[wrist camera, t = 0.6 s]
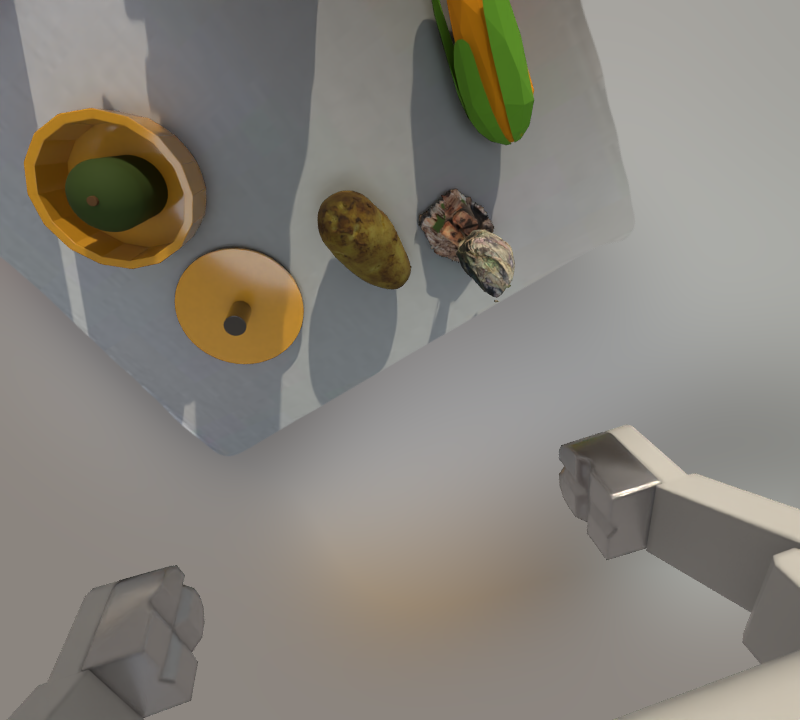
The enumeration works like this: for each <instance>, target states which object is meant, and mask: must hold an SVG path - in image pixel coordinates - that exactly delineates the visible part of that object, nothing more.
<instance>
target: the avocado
mask: <svg viewBox="0 0 800 720" xmlns="http://www.w3.org/2000/svg"><path fill="white" fill-rule="evenodd" d="M65 193H66V197H67V201H68V203H69V205H70V207H71V208H72V210H73V211H74V213H75V214H76V215H77V216H78V217H79V218H80V219H81V220H82V221H84V222H85V223H87V224H88V225H90V226H92V227H94V228H96V229H99V230H102V231H107V232H122V231H126V230H129V229H131V228H133V227H135V226H137V225H139V224H141V223H143V222H145V221H147V220H148V219H150V218H152V217H154V216H156V215H157V214H159V213H160V212H161V211H162V210H163V209H164V207H165V205H166V203H167V199H168V189H167V185H166V182H165V180H164V178H163V176H162V174H161V173H160V172H159V170H158V169H157V168H156V167H155V166H154V165H152V164H151V163H150V162H148V161H147V160H145V159H143V158H140V157H138V156H134V155H119V156H111V157H103V158H94V159H89V160H85V161H83V162H80V163H79V164H77V165H76V166H75V167H74V168H73V169H72V170H71V171H70V172H69V174H68V176H67V179H66V183H65Z"/></svg>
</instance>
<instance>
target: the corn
mask: <svg viewBox="0 0 800 720" xmlns="http://www.w3.org/2000/svg"><path fill="white" fill-rule="evenodd" d="M432 4H433V10H434V15H435V19H436V22H437V26H438V29H439V33H440V36H441V40H442V43H443V47H444V50H445V54H446V57H447V60H448V64H449V67H450V70H451V74H452V77H453V80H454V84H455V87H456V90H457V94H458V97H459V99H460V102H461V104H462V106H463V108H464V110H465V112H466V114H467V117H468V118H469V119H470V121H471V123H472V124H473V125H474V127H475V128H476V129H477V131H478V132H479V133H480V134H482V135H483V136H484V137H486V138H487V139H488V140H490V141H492V142H496V143H500V144H504V145H509V144H511V142H516V141H518V140H520V139H521V138H522V136H523V135H524V133H525V131H526V130H527V128H528V127H529V124H530V119H531V114H532V108H533V103H534V97H533V93H534V88H533V85H532V81H531V78H530V74H529V71H528V68H527V63H526V58H525V54H524V49H523V44H522V39H521V35H520V32H519V29H518V26H517V23H516V20H515V17H514V14H513V11H512V8H511V5H510V2H509V0H447V4H448V10H449V15H450V20H451V26H452V31H453V36H454V40H455V44H454V45H453V42H452V39H451V36H450V33H449V30H448V27H447V24H446V21H445V18H444V15H443V11H442V8H441V4H440V1H439V0H432Z"/></svg>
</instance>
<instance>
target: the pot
mask: <svg viewBox="0 0 800 720" xmlns="http://www.w3.org/2000/svg"><path fill="white" fill-rule="evenodd" d="M119 155H134V156H138V157H140V158H143V159H145V160H147V161H148V162H150V163H151V164H152V165H154V166H155V167H156V168H157V169H158V170H159V172H160V173H161V174H162V176H163V178H164V180H165V182H166V185H167V189H168V199H167V203H166V205H165V207H164V209H163V210H162V211H161V212H160V213H159V214H157V215H156V216H154V217H152V218H150V219H148V220H147V221H145V222H143V223H141V224H139V225H137V226H135V227H133V228H131V229H129V230H126V231H122V232H107V231H102V230H99V229H96V228H94V227H92V226H90V225H88V224H87V223H85V222H84V221H82V220H81V219H80V218H79V217H78V216H77V215H76V214H75V213H74V211H73V210H72V208H71V207H70V205H69V203H68V201H67V197H66V193H65V183H66V179H67V176H68V174H69V172H70V171H71V170H72V169H73V168H74V167H75V166H76V165H77V164H79V163H80V162H83V161H85V160H89V159H94V158H103V157H111V156H119ZM24 168H25V176H26V184H27V192H28V196H29V197H30V199H31V201H32V203H33V205H34V207H35V208H36V210H37V212H38V214H39V216H40V217H41V219H42V221H43V223H44V225H45V226H46V227H47V228H49V229H50V230H51V231H52V232H53V233H54V234H55V235H56V236H57V237H58V238H59V239H60V240H61V241H62V242H63V243H64V244H66V245H67V246H68V247H69V248H70V249H71V250H73V251H75V252H77V253H79V254H81V255H83V256H85V257H87V258H89V259H91V260H93V261H96V262H98V263H100V264H103V265H110V266H116V267H123V268H129V269H134V268H139V267H144V266H149V265H153V264H158V263H161V262H162V261H163V260H165V259H166V258H167V257H169V256H170V255H171V254H173V253H174V252H176V251H177V250H178V249H180V248H181V247H182V246H183V245H184V244H185V243H186V242H188V241H189V240H190V239H191V238H192V237H193V236H194V235H195V233H196V231H197V229H198V228H199V226H200V224H201V222H202V220H203V218H204V216H205V209H206V187H205V183H204V179H203V176H202V173H201V171H200V168H199V166H198V164H197V162H196V160H195V159H194V157H193V156H192V154H191V153H190V152H189V150H188V149H187V148H186V146H185V145H184V144H183V143H182V142H181V141H180V140H179V139H178V138H177V137H176V136H175V135H174V134H172V133H171V132H170V131H168V130H167V129H165V128H164V127H162V126H161V125H159V124H157V123H155V122H154V121H152V120H151V119H149V118H146V117H141V116H137V115H133V114H128V113H124V112H120V111H113V110H104V109H95V108H88V109H82V110H77V111H71V112H66V113H60V114H57V115H56V116H55V117H54V118H52V119H51V120H50V121H49V122H47V123H46V124H45V125H44V126H42V127H41V128H40V129H39V130H38V131H36V132H35V133H34V135H33V138H32V141H31V143H30V146H29V149H28V152H27V154H26V157H25V160H24Z"/></svg>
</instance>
